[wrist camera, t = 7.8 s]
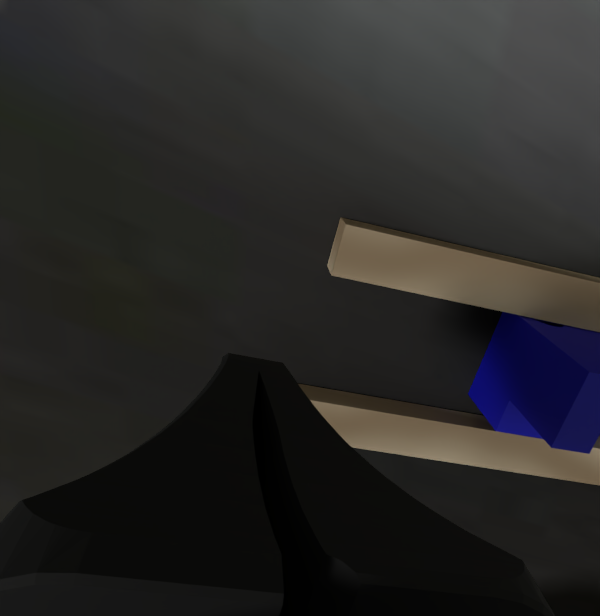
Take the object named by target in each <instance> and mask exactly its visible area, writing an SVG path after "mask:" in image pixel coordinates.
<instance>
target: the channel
mask: <svg viewBox="0 0 600 616" xmlns="http://www.w3.org/2000/svg"><path fill="white" fill-rule="evenodd" d="M327 266H328V269H329V271H330V273H331V275H332V276H337V277H342V278H346V279H351V280H356V281H361V282H365V283H370V284H375V285H379V286H384V287H389V288H393V289H398V290H403V291H408V292H412V293H417V294H422V295H426V296H431V297H436V298H441V299H445V300H450V301H455V302H459V303H464V304H469V305H473V306H478V307H483V308H488V309H492V310H497V311H502V312H506V313H511V314H516V315H521V316H525V317H530V318H535V319H539V320H544V321H549V322H554V323H558V324H563V325H568V326H572V327H577V328H582V329H586V330H591V331H596V332H600V278H598V277H594V276H590V275H586V274H581V273H577V272H573V271H568V270H564V269H560V268H556V267H551V266H547V265H543V264H538V263H534V262H530V261H526V260H521V259H517V258H513V257H508V256H504V255H500V254H496V253H491V252H487V251H483V250H478V249H474V248H470V247H466V246H461V245H457V244H453V243H448V242H444V241H440V240H436V239H431V238H427V237H423V236H418V235H414V234H410V233H406V232H401V231H397V230H393V229H388V228H384V227H380V226H376V225H371V224H367V223H363V222H358V221H354V220H350V219H346V218H340V221H339V225H338V229H337V232H336V236H335V239H334V243H333V247H332V250H331V254H330V257H329V261H328V265H327ZM298 385H299V386H300V388H301V389H302V390H303V392H304V393H305V394H306V396H307V397H308V398H309V400H310V401H311V402H312V404H313V405H314V406H315V407H316V409H317V410H318V411H319V412H320V413H321V415H322V416H323V417H324V418H325V419H326V421H327V422H328V423H329V424H330V425H331V426H332V427H333V428H334V429H335V431H336V432H337V433H338V434H339V435H340V436H341V437H342V438H343V439H344V440H345V441H346V442H347V443H348V444H349V445H350V446H351V447H353V448H360V449H366V450H373V451H380V452H386V453H393V454H399V455H406V456H412V457H419V458H425V459H432V460H438V461H445V462H451V463H458V464H464V465H471V466H477V467H484V468H490V469H497V470H503V471H510V472H516V473H523V474H529V475H536V476H542V477H549V478H555V479H562V480H568V481H575V482H581V483H588V484H594V485H600V436H599V437H598V439H597V441H596V443H595V444H594V446H593V448H592V450H591V452H590V454H587V453H580V452H574V451H568V450H562V449H555V448H551V447H550V446H549V445H548V444H547V443H546V441H545V440H544V439H541V438H534V437H528V436H522V435H516V434H510V433H504V432H498V431H495V430H494V428H493V427H492V426H491V424H490V423H489V422H488V420H487V419H486V418H485V416H483V415H477V414H471V413H465V412H459V411H454V410H448V409H442V408H436V407H431V406H425V405H419V404H413V403H407V402H402V401H396V400H390V399H384V398H378V397H373V396H367V395H361V394H355V393H349V392H344V391H338V390H332V389H326V388H320V387H315V386H309V385H303V384H298Z"/></svg>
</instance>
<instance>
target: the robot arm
mask: <svg viewBox="0 0 600 616" xmlns="http://www.w3.org/2000/svg"><path fill="white" fill-rule="evenodd" d="M0 616H555V615H554V613H553V611H552V610H551V608H550V606H549V604H548V603H547V601H546V599H545V598H544V596H543V594H542V593H541V591H540V589H539V587H538V586H537V584H536V582H535V581H534V579H533V577H532V575H531V574H530V572H529V570H528V569H527V567H526V566H525V564H524V562H523V561H522V560H521V559H519V558H517V557H515V556H513V555H511V554H509V553H507V552H506V551H504V550H502V549H500V548H498V547H496V546H494V545H492V544H490V543H488V542H486V541H484V540H483V539H481V538H479V537H477V536H475V535H473V534H471V533H469V532H467V531H465V530H464V529H462V528H460V527H458V526H457V525H455V524H454V523H452V522H450V521H449V520H447V519H445V518H444V517H442V516H441V515H439V514H437V513H436V512H434V511H433V510H431V509H429V508H428V507H426V506H425V505H423V504H422V503H420V502H419V501H417V500H416V499H414V498H413V497H412V496H410V495H409V494H407V493H406V492H405V491H403V490H402V489H401V488H399V487H398V486H397V485H395V484H394V483H393V482H391V481H390V480H389V479H387V478H386V477H385V476H384V475H382V474H381V473H380V472H379V471H378V470H376V469H375V468H374V467H373V466H372V465H370V464H369V463H368V462H367V461H366V460H365V459H364V458H363V457H362V456H361V455H359V454H358V453H357V452H356V451H355V450H354V449H353V448H352V447H351V446H350V445H349V444H348V443H347V442H346V441H345V440H344V439H343V438H342V437H341V436H340V435H339V434H338V433H337V432H336V431H335V429H334V428H333V427H332V426H331V425H330V424H329V423H328V422H327V421H326V419H325V418H324V417H323V416H322V415H321V413H320V412H319V411H318V410H317V409H316V407H315V406H314V405H313V404H312V402H311V401H310V400H309V398H308V397H307V396H306V394H305V393H304V392H303V390H302V389H301V388H300V386H299V385H298V383H297V382H296V381H295V379H294V378H293V376H292V375H291V374H290V372H289V371H288V369H287V368H286V367H285V365H284V364H283V363H281V362H275V361H270V360H264V359H259V358H253V357H247V356H242V355H236V354H231V353H228V354H226V355H225V356H223V357H222V362H221V364H220V366H219V368H218V369H217V371H216V373H215V374H214V376H213V377H212V379H211V380H210V381H209V382H208V384H207V385H206V386H205V388H204V389H203V390H202V391H201V393H200V394H199V395H198V396H197V397H196V398H195V399H194V400H193V401H192V402H191V403H190V404H189V405H188V406H187V407H186V409H185V410H184V411H183V412H182V413H181V414H180V415H178V416H177V417H176V418H175V419H174V420H173V421H172V422H171V423H169V424H168V425H167V426H166V427H165V428H163V429H162V430H161V431H160V432H158V433H157V434H156V435H155V436H153V437H152V438H150V439H149V440H147V441H146V442H145V443H143V444H142V445H140V446H139V447H137V448H136V449H134V450H133V451H131V452H130V453H128V454H127V455H125V456H123V457H122V458H120V459H118V460H116V461H114V462H113V463H111V464H109V465H107V466H105V467H103V468H101V469H99V470H97V471H95V472H93V473H91V474H89V475H87V476H85V477H82V478H80V479H78V480H75V481H73V482H70V483H68V484H65V485H62V486H60V487H57V488H54V489H52V490H49V491H47V492H44V493H41V494H39V495H36V496H33V497H30V498H27V499H24V500H22V501H20V502H19V503H18V504H17V505H16V506H15V507H14V508H13V509H12V510H11V511H10V512H9V514H8V515H7V516H6V517H5V518H4V519H3V520H2V522H1V523H0Z"/></svg>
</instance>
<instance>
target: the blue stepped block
mask: <svg viewBox="0 0 600 616" xmlns="http://www.w3.org/2000/svg"><path fill="white" fill-rule="evenodd" d="M468 395H469V396H470V397H471V399H472V400H473V401H474V403H475V404H476V405H477V407H478V408H479V410H480V411H481V412H482V414H483V415H484V416H485V418H486V419H487V420H488V422H489V423H490V424H491V426H492V427H493V428H494V430H495V431H498V432H504V433H510V434H516V435H522V436H528V437H534V438H541V439H544V440H545V441H546V443H547V444H548V445H549V446H550V447H551V448H555V449H562V450H568V451H574V452H580V453H587V454H590V452H591V450H592V448H593V446H594V444H595V443H596V441H597V439H598V437H599V435H600V332H596V331H591V330H586V329H582V328H577V327H572V326H568V325H563V324H558V323H554V322H549V321H544V320H539V319H535V318H530V317H525V316H521V315H516V314H511V313H506V312H502V314H501V317H500V319H499V322H498V324H497V326H496V329H495V331H494V334H493V336H492V338H491V341H490V343H489V345H488V348H487V350H486V353H485V355H484V357H483V360H482V362H481V365H480V367H479V369H478V372H477V374H476V376H475V379H474V381H473V384H472V386H471V388H470V391H469V393H468Z"/></svg>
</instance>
